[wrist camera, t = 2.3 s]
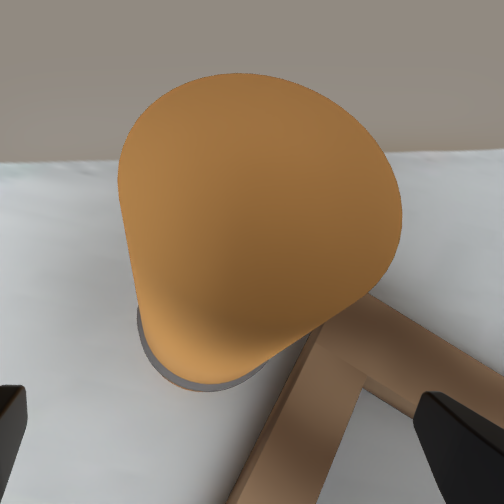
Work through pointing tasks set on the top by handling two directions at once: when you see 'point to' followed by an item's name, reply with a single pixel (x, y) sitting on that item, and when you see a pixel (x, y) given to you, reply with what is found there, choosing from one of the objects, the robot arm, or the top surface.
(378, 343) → the wooden frame
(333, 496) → the top surface
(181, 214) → the orange round cylinder
